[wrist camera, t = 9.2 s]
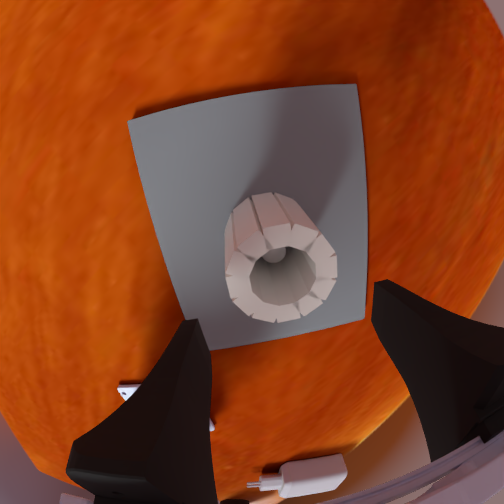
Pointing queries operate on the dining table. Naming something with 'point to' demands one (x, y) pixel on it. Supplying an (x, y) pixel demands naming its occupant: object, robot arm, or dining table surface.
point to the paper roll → (283, 272)
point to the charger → (305, 476)
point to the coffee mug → (235, 501)
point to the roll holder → (253, 183)
